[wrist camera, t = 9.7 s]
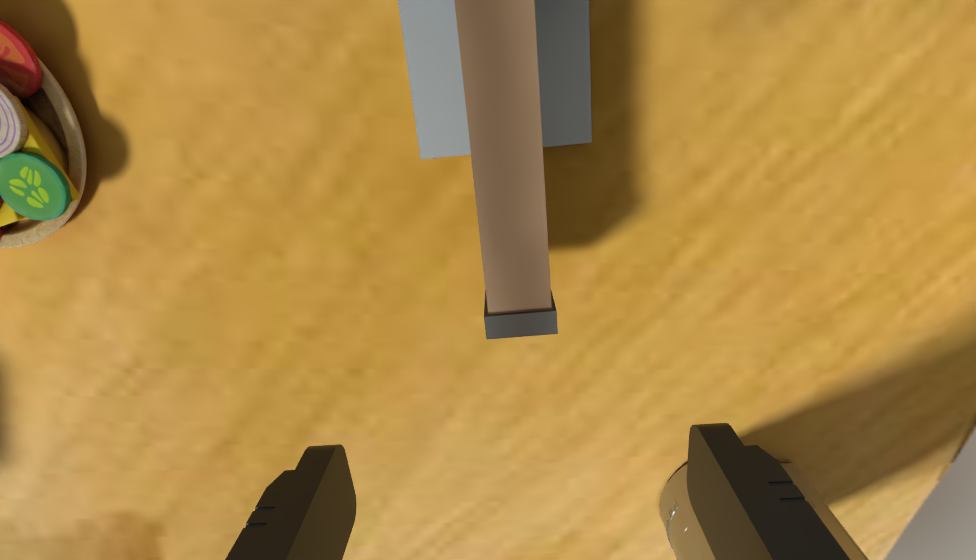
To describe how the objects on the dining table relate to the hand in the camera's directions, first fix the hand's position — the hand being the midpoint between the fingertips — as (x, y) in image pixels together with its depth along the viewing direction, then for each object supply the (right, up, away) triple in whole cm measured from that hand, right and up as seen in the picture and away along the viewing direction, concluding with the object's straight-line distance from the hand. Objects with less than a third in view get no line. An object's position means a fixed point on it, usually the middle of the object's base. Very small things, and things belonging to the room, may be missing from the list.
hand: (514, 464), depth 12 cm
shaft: (0, +14, +11) cm, 18 cm away
